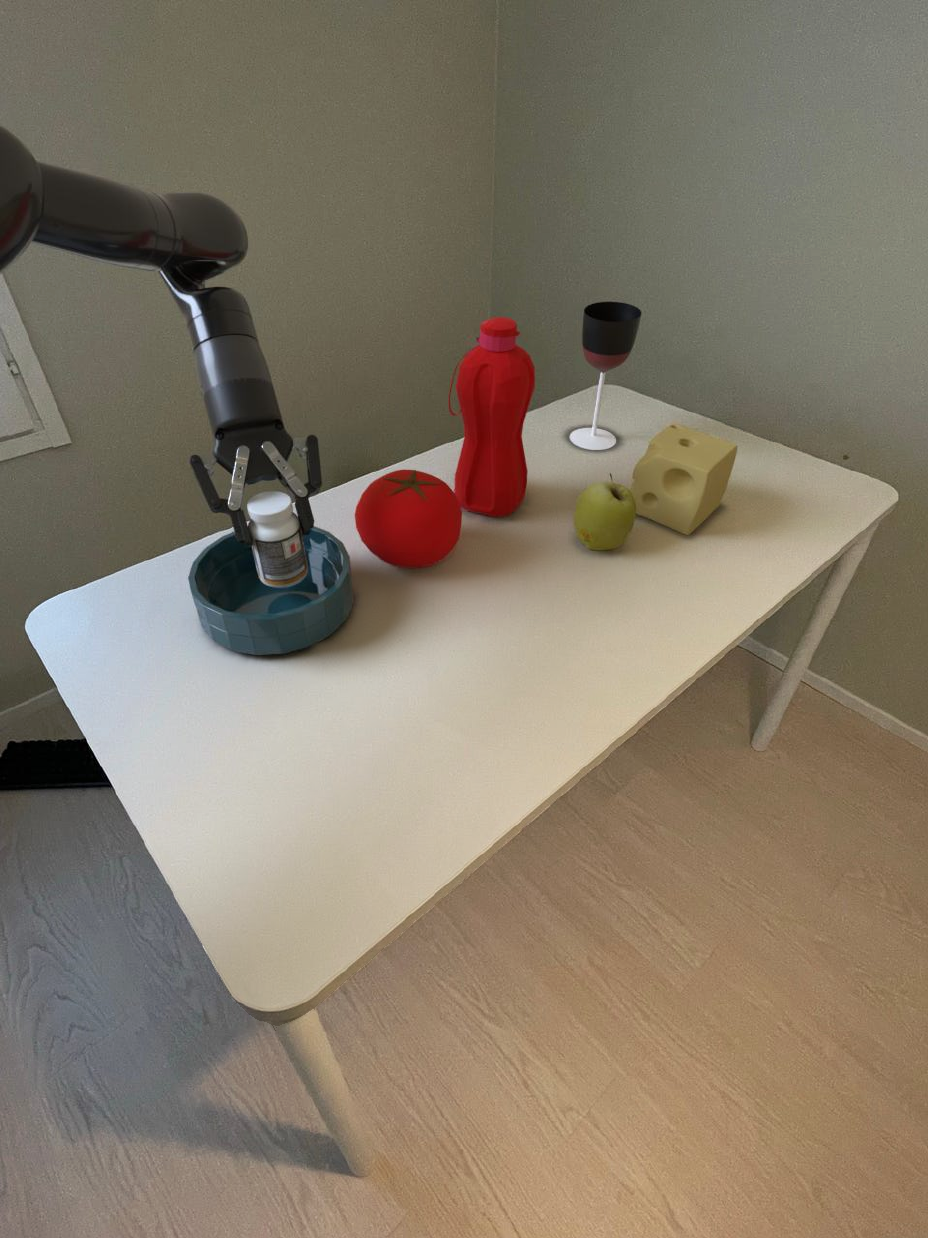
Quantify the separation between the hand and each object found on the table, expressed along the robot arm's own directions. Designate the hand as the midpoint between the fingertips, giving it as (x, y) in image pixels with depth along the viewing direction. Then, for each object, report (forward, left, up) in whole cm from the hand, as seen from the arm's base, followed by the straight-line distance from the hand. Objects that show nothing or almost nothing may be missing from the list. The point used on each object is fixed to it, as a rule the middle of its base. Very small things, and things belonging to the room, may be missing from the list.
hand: (278, 539), depth 76 cm
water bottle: (+31, +12, -10) cm, 34 cm away
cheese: (+55, 0, -10) cm, 55 cm away
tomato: (+17, +4, -10) cm, 20 cm away
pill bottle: (0, +2, -6) cm, 7 cm away
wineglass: (+55, +22, -10) cm, 60 cm away
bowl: (-1, 0, -9) cm, 10 cm away
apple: (+41, -3, -10) cm, 42 cm away
